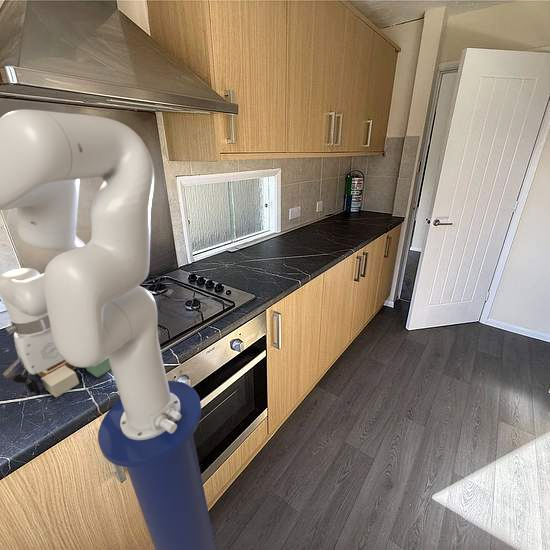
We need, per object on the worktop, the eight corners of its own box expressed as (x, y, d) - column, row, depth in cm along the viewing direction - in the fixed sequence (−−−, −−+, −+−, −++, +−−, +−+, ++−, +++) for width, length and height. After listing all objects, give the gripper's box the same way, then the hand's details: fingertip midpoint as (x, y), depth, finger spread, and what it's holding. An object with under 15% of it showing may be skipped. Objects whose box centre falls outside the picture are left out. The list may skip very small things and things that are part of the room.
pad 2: (117, 365, 81) (114, 354, 80) (97, 377, 77) (93, 366, 76) (105, 358, 84) (102, 348, 83) (86, 370, 80) (82, 359, 78)
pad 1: (79, 383, 75) (75, 372, 74) (56, 397, 71) (51, 386, 70) (68, 375, 78) (64, 365, 77) (45, 389, 74) (40, 378, 72)
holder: (83, 364, 82) (80, 355, 81) (50, 383, 76) (46, 374, 74) (55, 347, 90) (52, 338, 89) (23, 363, 83) (19, 354, 82)
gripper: (-6, 347, 58) (24, 409, 65) (83, 309, 72) (100, 364, 79) (-20, 336, 62) (10, 396, 69) (67, 302, 76) (85, 355, 82)
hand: (58, 379), depth 74 cm, fingers open, 9 cm apart
